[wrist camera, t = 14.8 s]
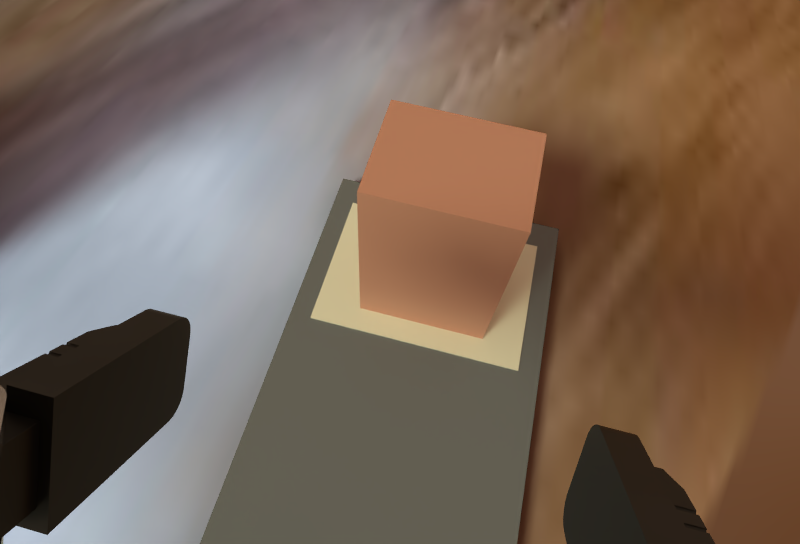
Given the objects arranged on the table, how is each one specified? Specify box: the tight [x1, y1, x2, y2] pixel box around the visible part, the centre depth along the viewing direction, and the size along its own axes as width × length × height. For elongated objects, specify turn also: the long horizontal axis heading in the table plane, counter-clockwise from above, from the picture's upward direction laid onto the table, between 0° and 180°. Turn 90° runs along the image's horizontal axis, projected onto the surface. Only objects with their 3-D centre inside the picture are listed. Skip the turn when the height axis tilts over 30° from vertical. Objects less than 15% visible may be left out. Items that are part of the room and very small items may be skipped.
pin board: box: [200, 179, 559, 544], centre depth 24 cm, size 12×22×4 cm, turn 166°
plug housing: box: [357, 100, 547, 339], centre depth 24 cm, size 6×5×9 cm
